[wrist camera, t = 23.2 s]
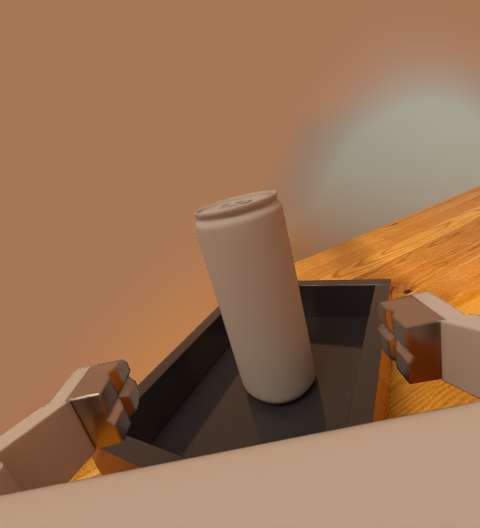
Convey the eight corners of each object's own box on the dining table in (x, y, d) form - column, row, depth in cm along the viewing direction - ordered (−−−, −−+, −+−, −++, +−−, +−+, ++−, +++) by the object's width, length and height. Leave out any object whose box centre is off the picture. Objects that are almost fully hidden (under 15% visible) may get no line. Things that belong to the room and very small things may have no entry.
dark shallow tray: (370, 639, 9) (355, 562, 8) (111, 493, 16) (81, 439, 15) (395, 323, 24) (390, 278, 22) (252, 316, 30) (243, 281, 29)
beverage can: (316, 411, 17) (271, 200, 13) (236, 409, 18) (174, 220, 14) (317, 355, 21) (284, 185, 17) (253, 357, 22) (209, 202, 19)
